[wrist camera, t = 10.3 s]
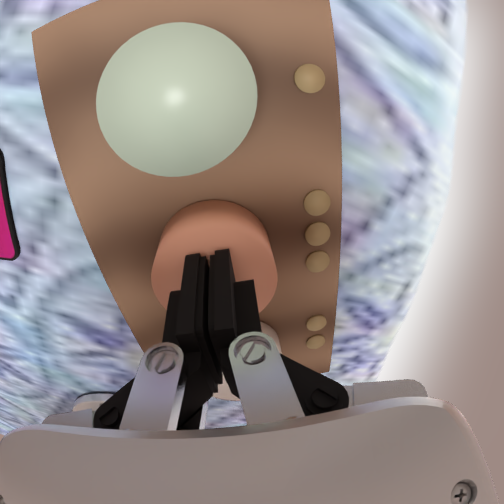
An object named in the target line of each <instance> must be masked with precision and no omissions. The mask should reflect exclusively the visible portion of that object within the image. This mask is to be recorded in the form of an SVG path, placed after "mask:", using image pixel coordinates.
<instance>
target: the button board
mask: <svg viewBox="0 0 504 504" xmlns="http://www.w3.org/2000/svg"><path fill="white" fill-rule="evenodd" d="M174 22H187V23H195V24H200V25H204V26H207V27H210V28H212V29H215V30H217V31H219V32H220V33H222V34H224V35H225V36H227V37H228V38H229V39H231V40H232V41H233V42H234V43H235V44H236V45H237V46H238V47H239V48H240V49H241V50H242V52H243V53H244V54H245V56H246V57H247V59H248V61H249V63H250V65H251V67H252V70H253V72H254V75H255V79H256V84H257V107H256V112H255V116H254V119H253V122H252V125H251V127H250V129H249V131H248V133H247V135H246V137H245V138H244V139H243V141H242V142H241V144H240V145H239V146H238V147H237V148H236V149H235V151H234V152H233V153H232V154H230V155H229V156H228V157H227V158H226V159H224V160H223V161H221V162H220V163H219V164H217V165H215V166H213V167H211V168H209V169H208V170H205V171H202V172H200V173H196V174H192V175H188V176H180V177H165V176H157V175H153V174H149V173H146V172H144V171H141V170H139V169H137V168H135V167H133V166H131V165H130V164H128V163H127V162H125V161H124V160H123V159H121V158H120V157H119V156H118V155H117V154H116V153H115V152H114V151H113V149H112V148H111V147H110V146H109V144H108V143H107V141H106V139H105V138H104V135H103V133H102V131H101V129H100V126H99V122H98V118H97V112H96V96H97V89H98V85H99V81H100V78H101V76H102V73H103V71H104V69H105V67H106V65H107V63H108V62H109V60H110V59H111V57H112V56H113V55H114V53H115V52H116V51H117V50H118V49H119V48H120V47H121V46H122V45H123V44H124V43H125V42H127V41H128V40H129V39H130V38H132V37H134V36H135V35H137V34H138V33H140V32H142V31H144V30H146V29H149V28H151V27H154V26H158V25H161V24H166V23H174ZM32 41H33V49H34V56H35V62H36V69H37V74H38V80H39V85H40V90H41V95H42V100H43V104H44V109H45V113H46V117H47V121H48V125H49V129H50V133H51V137H52V140H53V144H54V147H55V151H56V154H57V158H58V161H59V164H60V167H61V170H62V173H63V176H64V180H65V182H66V185H67V188H68V191H69V194H70V197H71V200H72V202H73V205H74V208H75V210H76V213H77V216H78V218H79V221H80V223H81V226H82V228H83V231H84V233H85V236H86V238H87V240H88V243H89V245H90V248H91V250H92V252H93V254H94V257H95V259H96V261H97V263H98V266H99V268H100V270H101V272H102V274H103V276H104V278H105V281H106V283H107V285H108V287H109V289H110V291H111V293H112V295H113V297H114V299H115V301H116V303H117V305H118V307H119V308H120V310H121V312H122V314H123V316H124V318H125V320H126V322H127V323H128V325H129V327H130V329H131V331H132V333H133V334H134V336H135V338H136V340H137V341H138V343H139V345H140V347H141V348H142V350H143V352H144V353H145V352H146V351H147V350H148V349H149V348H150V347H152V346H153V345H156V344H159V343H162V339H163V332H164V325H165V319H166V312H167V310H166V309H165V308H164V307H163V306H162V305H161V304H160V302H159V301H158V299H157V297H156V295H155V293H154V291H153V288H152V283H151V272H152V267H153V263H154V259H155V256H156V252H157V249H158V245H159V242H160V239H161V235H162V233H163V230H164V228H165V226H166V224H167V223H168V221H169V220H170V219H171V218H172V217H173V216H174V215H175V214H176V213H177V212H179V211H180V210H181V209H183V208H185V207H187V206H189V205H191V204H194V203H197V202H201V201H207V200H222V201H228V202H232V203H235V204H238V205H240V206H242V207H244V208H246V209H248V210H249V211H250V212H252V213H253V214H254V215H255V216H256V217H257V218H258V219H259V220H260V222H261V223H262V224H263V226H264V228H265V230H266V232H267V235H268V239H269V242H270V246H271V250H272V253H273V257H274V261H275V265H276V269H277V274H278V282H277V288H276V291H275V294H274V296H273V298H272V299H271V301H270V302H269V304H268V305H267V306H266V307H265V308H264V309H263V310H262V311H261V312H260V313H259V317H260V322H263V323H265V324H267V325H269V326H270V327H271V328H272V329H273V330H274V331H275V332H276V333H277V335H278V338H279V343H280V348H281V352H282V355H284V356H286V357H288V358H290V359H292V360H294V361H296V362H298V363H300V364H302V365H304V366H306V367H308V368H310V369H312V370H314V371H316V372H318V373H324V372H329V370H330V362H331V354H332V345H333V336H334V326H335V316H336V305H337V293H338V279H339V263H340V242H341V211H342V151H341V120H340V101H339V85H338V72H337V61H336V50H335V41H334V32H333V24H332V16H331V9H330V2H329V0H99V1H96V2H94V3H91V4H89V5H86V6H84V7H82V8H79V9H77V10H75V11H72V12H70V13H68V14H66V15H64V16H62V17H59V18H57V19H55V20H53V21H51V22H49V23H47V24H46V25H44V26H42V27H40V28H38V29H36V30H34V31H33V32H32Z"/></svg>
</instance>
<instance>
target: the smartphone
mask: <svg viewBox="0 0 504 504" xmlns="http://www.w3.org/2000/svg"><path fill="white" fill-rule="evenodd" d="M19 254H20V245H19V241H18V239H17V235H16V230H15V226H14V221H13V216H12V211H11V206H10V200H9V194H8V188H7V181H6V174H5V161H4V156H3V153H2V151H1V149H0V259H2V260H10V261H13V260H15V259H16V258H17V257H18V256H19Z"/></svg>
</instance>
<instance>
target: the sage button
mask: <svg viewBox="0 0 504 504" xmlns="http://www.w3.org/2000/svg"><path fill="white" fill-rule="evenodd" d="M256 107H257V84H256V79H255V75H254V72H253V70H252V67H251V65H250V63H249V61H248V59H247V57H246V56H245V54H244V53H243V52H242V50H241V49H240V48H239V47H238V46H237V45H236V44H235V43H234V42H233V41H232V40H231V39H229V38H228V37H227V36H225V35H224V34H222V33H220V32H219V31H217V30H215V29H212V28H210V27H207V26H204V25H200V24H195V23H187V22H174V23H166V24H161V25H158V26H154V27H151V28H149V29H146V30H144V31H142V32H140V33H138V34H137V35H135V36H134V37H132V38H130V39H129V40H128V41H127V42H125V43H124V44H123V45H122V46H121V47H120V48H119V49H118V50H117V51H116V52H115V53H114V55H113V56H112V57H111V59H110V60H109V62H108V63H107V65H106V67H105V69H104V71H103V73H102V76H101V78H100V81H99V85H98V89H97V96H96V112H97V118H98V122H99V126H100V129H101V131H102V133H103V135H104V138H105V139H106V141H107V143H108V144H109V146H110V147H111V148H112V149H113V151H114V152H115V153H116V154H117V155H118V156H119V157H120V158H121V159H123V160H124V161H125V162H127V163H128V164H130V165H131V166H133V167H135V168H137V169H139V170H141V171H144V172H146V173H149V174H153V175H157V176H165V177H180V176H188V175H192V174H196V173H200V172H202V171H205V170H208V169H209V168H211V167H213V166H215V165H217V164H219V163H220V162H221V161H223V160H224V159H226V158H227V157H228V156H229V155H230V154H232V153H233V152H234V151H235V149H236V148H237V147H238V146H239V145H240V144H241V142H242V141H243V139H244V138H245V137H246V135H247V133H248V131H249V129H250V127H251V125H252V122H253V119H254V116H255V112H256Z"/></svg>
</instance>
